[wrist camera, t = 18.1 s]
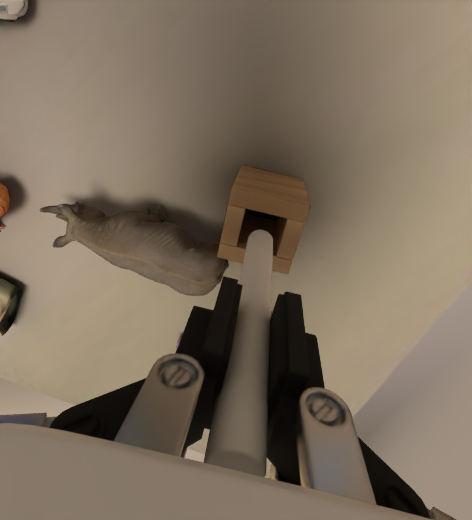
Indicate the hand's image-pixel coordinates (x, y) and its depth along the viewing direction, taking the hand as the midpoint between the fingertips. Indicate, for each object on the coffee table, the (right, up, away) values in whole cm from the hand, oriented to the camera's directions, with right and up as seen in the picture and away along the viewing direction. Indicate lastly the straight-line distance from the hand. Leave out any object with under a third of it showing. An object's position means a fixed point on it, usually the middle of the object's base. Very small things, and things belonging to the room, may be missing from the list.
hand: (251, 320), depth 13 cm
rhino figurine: (-7, +5, +14) cm, 17 cm away
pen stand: (+1, +6, +13) cm, 14 cm away
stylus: (+1, +3, +7) cm, 7 cm away
